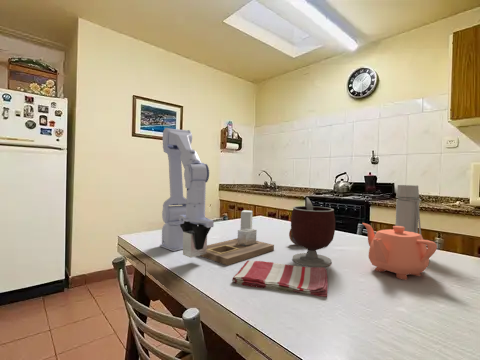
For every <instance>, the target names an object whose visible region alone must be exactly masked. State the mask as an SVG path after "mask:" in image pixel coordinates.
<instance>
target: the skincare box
mask: <svg viewBox="0 0 480 360" xmlns="http://www.w3.org/2000/svg"><path fill="white" fill-rule="evenodd" d="M248 228H249V229H253V210H247V209H244V210H242V211H241V212H240V230H242V229H248Z"/></svg>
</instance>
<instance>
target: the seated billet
mask: <svg viewBox="0 0 480 360" xmlns="http://www.w3.org/2000/svg"><path fill="white" fill-rule="evenodd" d="M257 232H258V231H257V229H254V228H252V229H249V228H248V229H242V230H241V229H239V230H237V238H238V245H241V246H244V247H247V246H251V245H254V244H256V241H257Z"/></svg>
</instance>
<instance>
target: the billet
mask: <svg viewBox="0 0 480 360" xmlns="http://www.w3.org/2000/svg"><path fill="white" fill-rule="evenodd" d="M207 245H208V236H207V237H206V239H205V243H204V247H203V249H200V250H196V243H195V234H194V231H193V230H191V231H185V232H183V249H182V255H183V256H184V257H188V258H196V257H201V256H200V255H203V254H207Z"/></svg>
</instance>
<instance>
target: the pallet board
mask: <svg viewBox="0 0 480 360" xmlns="http://www.w3.org/2000/svg"><path fill="white" fill-rule="evenodd" d="M273 251H275V244H271V243H267V242H263V241H259V240H256V244H254V245H251V246H247V247H244V246H241V245H238V237H237V238H233V239H229V240H225V241H224V240H223V241H220V242H215V243H211V244H207V254H203V255H200V256H199V257H202V258H205V259H208V260H211V261H214V262H217V263H219V264H222V265H225V266H229V265H230V266H231V265H233V264H235V263H239V262H242V261H246V260H248V259H252V258H255V257H257V256H261V255H264V254H267V253H270V252H273Z"/></svg>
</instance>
